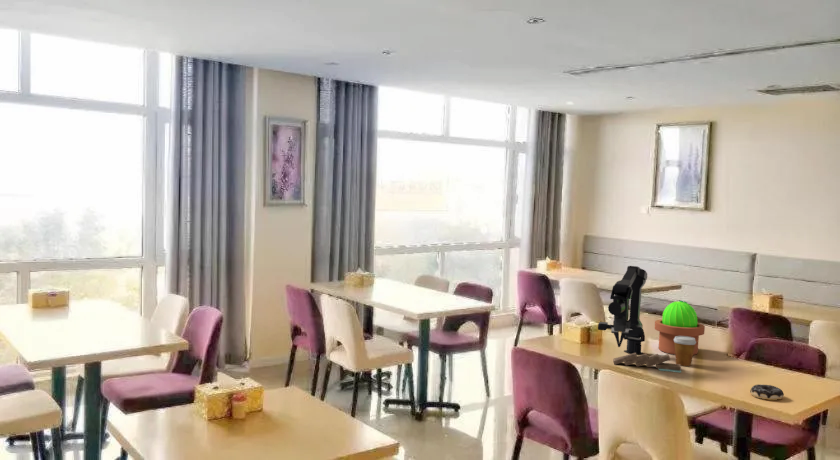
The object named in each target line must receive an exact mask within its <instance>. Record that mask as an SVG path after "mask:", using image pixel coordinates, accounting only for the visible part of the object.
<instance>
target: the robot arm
mask: <svg viewBox="0 0 840 460" xmlns="http://www.w3.org/2000/svg"><path fill="white" fill-rule="evenodd" d="M647 280H648V272H647V271H646V270H645V269H644V268H643V269H642V268H640V267H639V266H636V265H628V266H627V267H626V271H625V273H624V275H623V276H622V278H621V280H618V281H616V282H615V284H614V285H613V286H612V290H611V294H610V296H609V298H610V300H612V302H610V303H609V305H608V306H607V308H608V309H607V310H608V312H609V313H610V314H611V315H612V316H613V323H612V324H609V322H607V321H606V322H605V321H599V322H598V324H597V330H599V331H607V329H608V330H610V333H612V334H613V335H614V337H615V341H616V344H617V347H618V348H621V346H622V344H623V340H625V341H626V349H624V350H623V352H625V353H628V354H633V353H636V354H637V355H643V354H644V352H643V351H642V343H644V342H646V336H645V335H646V334H645V332H644V328H643V323H642V321H641V319H640V318H641V316H640V315H641V300H642V288H643V287H644V286H645V284H646V283H647ZM629 300H630V304H629ZM629 305H630V306H629ZM629 307H630V308H629ZM628 312H629V318H628ZM620 332H621V334H619V333H620Z"/></svg>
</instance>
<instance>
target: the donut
mask: <svg viewBox="0 0 840 460" xmlns="http://www.w3.org/2000/svg"><path fill="white" fill-rule="evenodd" d="M749 391H750V394H751V396H752V395H753V396H752V397H754V396H755V397H754V398H756V397H758V398H757V399H759V398H762V399H761V400H763V399H769V400H768V401H778V400H777V399H780V400H782V399H783V398H784V396H785V393H784V391H783V389H781V388H780V387H777V386H775V385H771V384H754V385H753V386H752V387H751V388H750V390H749Z"/></svg>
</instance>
